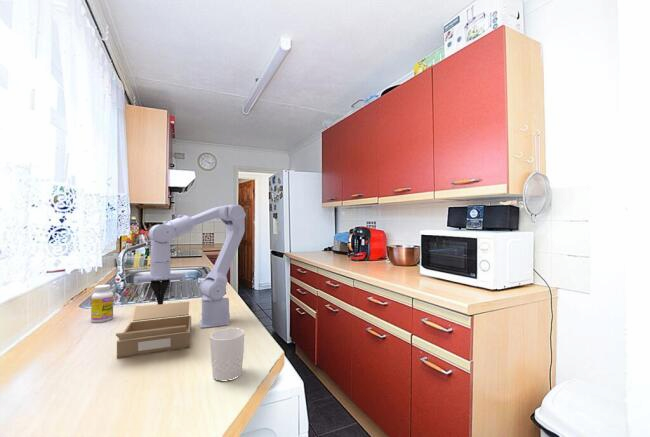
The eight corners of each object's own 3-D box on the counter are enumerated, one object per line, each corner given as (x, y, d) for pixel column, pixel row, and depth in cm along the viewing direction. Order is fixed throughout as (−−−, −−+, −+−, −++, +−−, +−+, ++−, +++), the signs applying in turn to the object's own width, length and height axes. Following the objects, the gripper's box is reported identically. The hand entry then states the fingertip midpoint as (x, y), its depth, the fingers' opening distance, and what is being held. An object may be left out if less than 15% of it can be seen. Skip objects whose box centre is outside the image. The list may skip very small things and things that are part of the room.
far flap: (188, 314, 104) (188, 315, 104) (189, 301, 109) (189, 302, 109) (132, 320, 98) (132, 321, 98) (136, 306, 103) (136, 307, 103)
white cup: (215, 367, 77) (215, 328, 77) (246, 366, 78) (246, 327, 78) (205, 384, 69) (205, 340, 69) (241, 382, 70) (241, 339, 70)
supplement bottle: (101, 323, 110) (101, 288, 110) (86, 322, 111) (86, 287, 111) (117, 317, 116) (117, 284, 117) (103, 316, 118) (103, 283, 118)
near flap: (185, 325, 84) (185, 326, 84) (186, 330, 89) (186, 331, 89) (115, 333, 78) (115, 335, 78) (120, 338, 83) (120, 340, 83)
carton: (191, 328, 105) (191, 315, 105) (189, 347, 89) (189, 332, 89) (130, 336, 98) (130, 322, 98) (116, 358, 82) (116, 341, 82)
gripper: (131, 264, 92) (131, 309, 92) (184, 262, 97) (184, 304, 97) (136, 261, 98) (136, 303, 98) (185, 259, 104) (185, 299, 104)
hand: (160, 303), depth 98 cm, fingers closed
